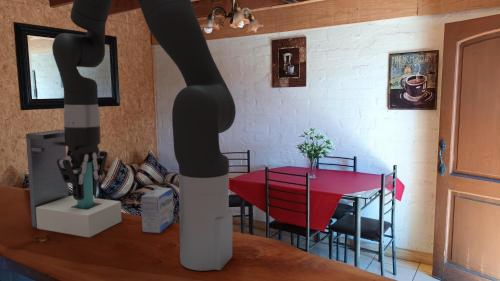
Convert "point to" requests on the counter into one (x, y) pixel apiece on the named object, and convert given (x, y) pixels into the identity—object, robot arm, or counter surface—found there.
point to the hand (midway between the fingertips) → (85, 196)
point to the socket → (78, 216)
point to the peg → (86, 189)
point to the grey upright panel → (45, 168)
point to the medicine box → (157, 210)
